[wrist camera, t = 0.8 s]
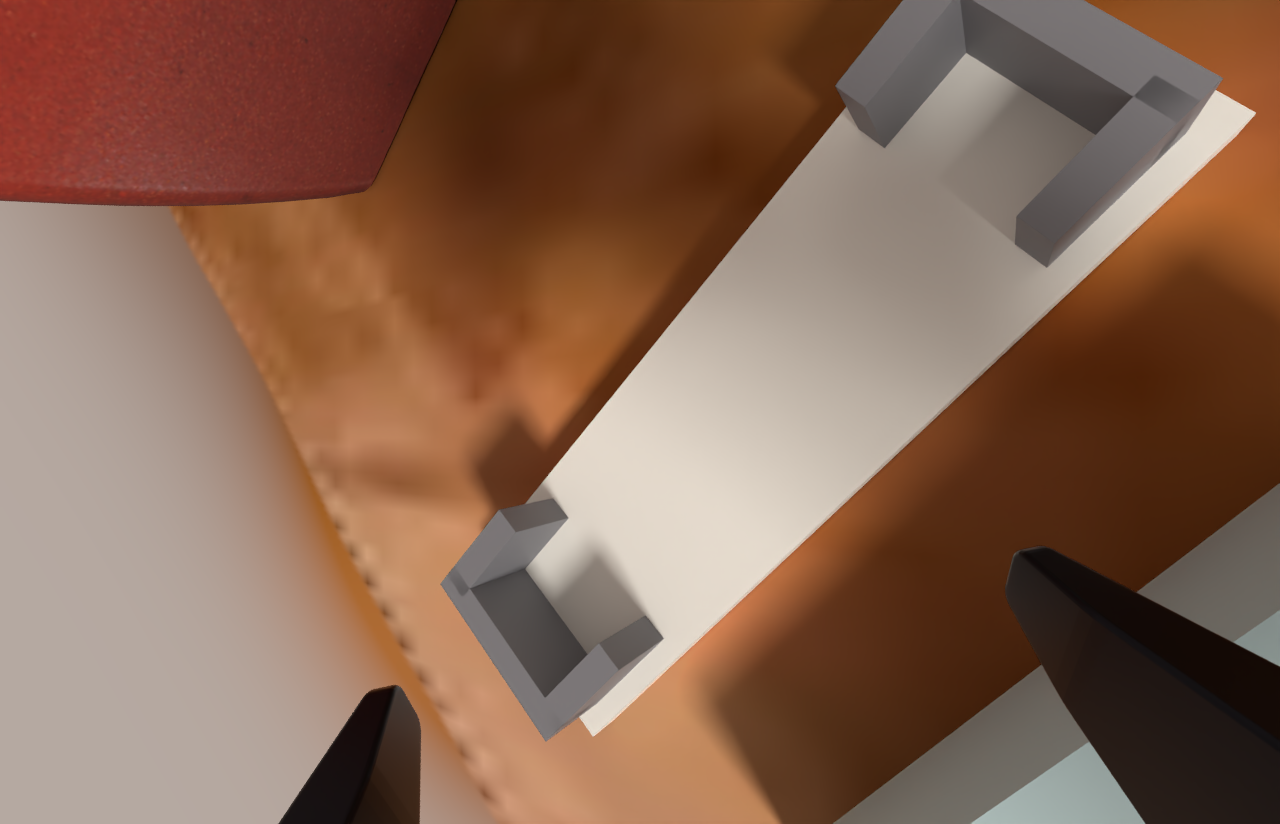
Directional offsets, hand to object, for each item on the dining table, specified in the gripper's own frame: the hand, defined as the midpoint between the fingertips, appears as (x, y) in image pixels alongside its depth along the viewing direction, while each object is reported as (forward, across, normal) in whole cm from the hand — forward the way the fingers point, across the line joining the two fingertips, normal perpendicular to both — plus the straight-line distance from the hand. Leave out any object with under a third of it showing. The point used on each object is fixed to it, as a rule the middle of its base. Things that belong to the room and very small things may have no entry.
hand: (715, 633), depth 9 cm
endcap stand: (+12, -4, +4) cm, 13 cm away
